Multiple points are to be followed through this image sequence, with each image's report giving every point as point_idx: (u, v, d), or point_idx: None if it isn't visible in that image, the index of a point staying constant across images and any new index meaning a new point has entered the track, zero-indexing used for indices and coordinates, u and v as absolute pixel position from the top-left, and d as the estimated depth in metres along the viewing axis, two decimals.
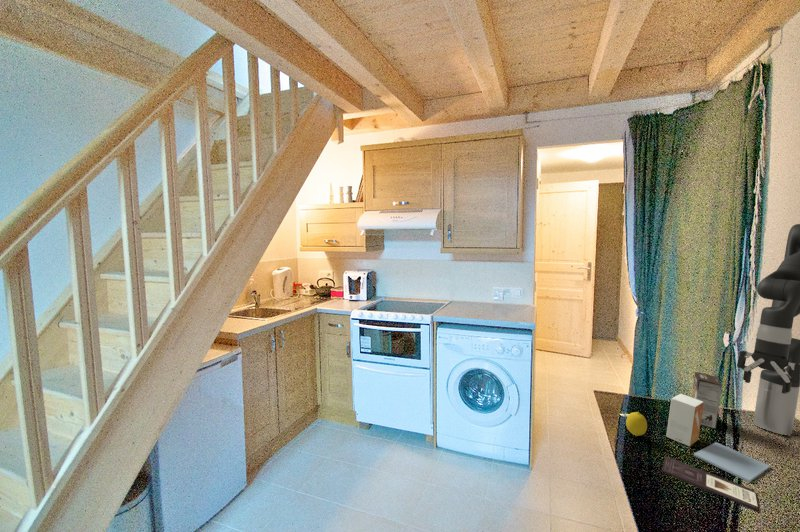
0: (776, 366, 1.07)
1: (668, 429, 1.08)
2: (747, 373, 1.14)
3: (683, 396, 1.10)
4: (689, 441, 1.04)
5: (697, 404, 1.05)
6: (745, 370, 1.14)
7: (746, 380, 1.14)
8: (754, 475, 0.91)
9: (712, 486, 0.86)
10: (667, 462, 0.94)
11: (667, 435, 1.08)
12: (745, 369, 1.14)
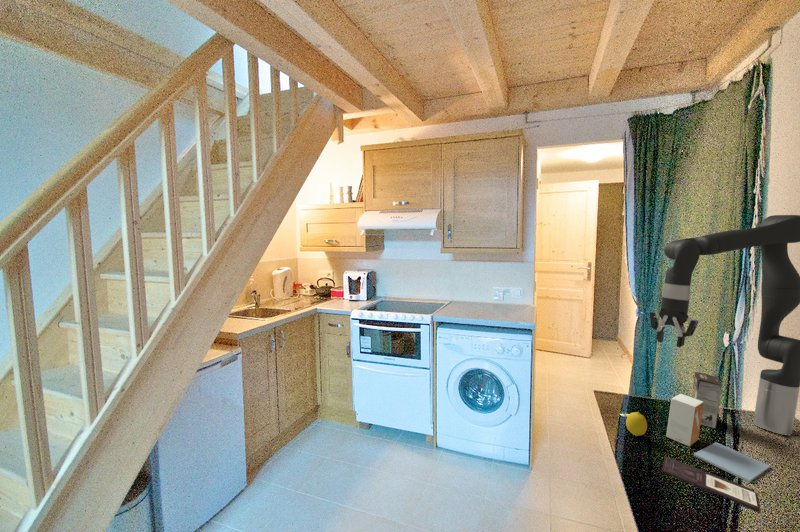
0: (676, 321, 1.16)
1: (668, 429, 1.08)
2: (659, 333, 1.20)
3: (683, 396, 1.10)
4: (689, 441, 1.04)
5: (697, 404, 1.04)
6: (658, 330, 1.21)
7: (658, 340, 1.21)
8: (754, 475, 0.91)
9: (712, 486, 0.86)
10: (667, 462, 0.94)
11: (667, 435, 1.08)
12: (658, 329, 1.21)
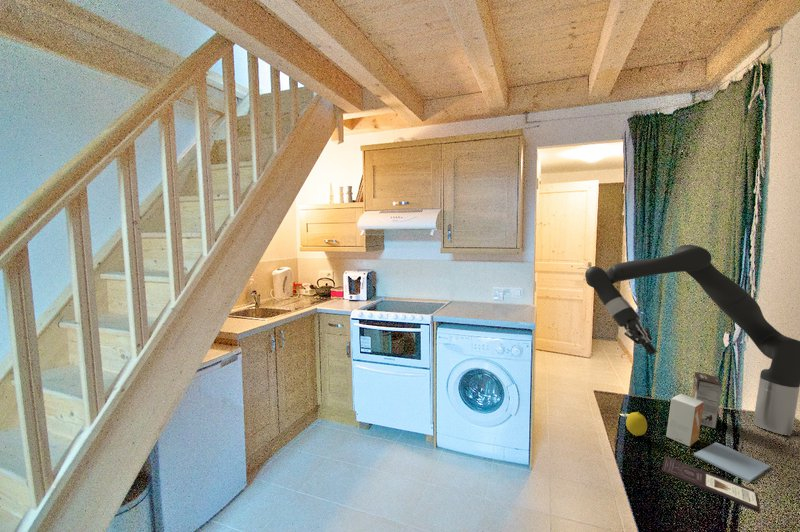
0: None
1: (668, 429, 1.08)
2: None
3: (683, 396, 1.10)
4: (689, 441, 1.04)
5: (697, 404, 1.05)
6: None
7: None
8: (754, 475, 0.91)
9: (711, 486, 0.86)
10: (667, 462, 0.94)
11: (667, 435, 1.08)
12: None
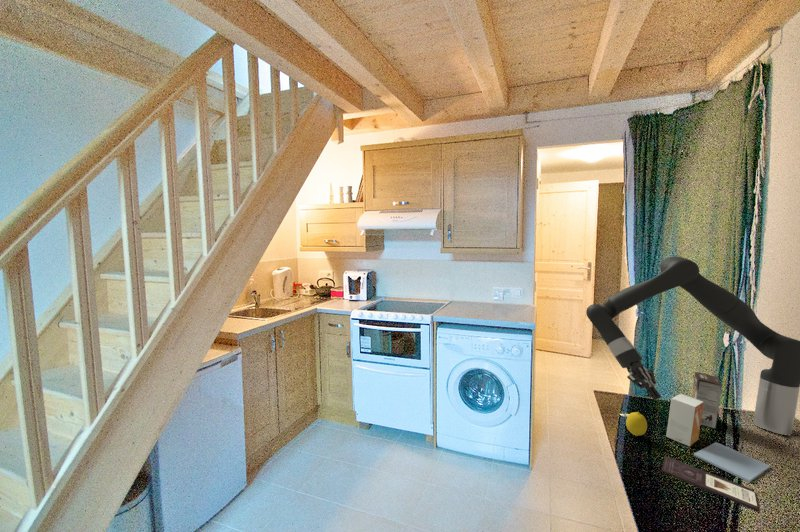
0: None
1: (668, 429, 1.08)
2: None
3: (683, 396, 1.10)
4: (689, 441, 1.04)
5: (697, 404, 1.05)
6: None
7: None
8: (754, 475, 0.91)
9: (711, 486, 0.86)
10: (667, 462, 0.94)
11: (667, 435, 1.08)
12: None
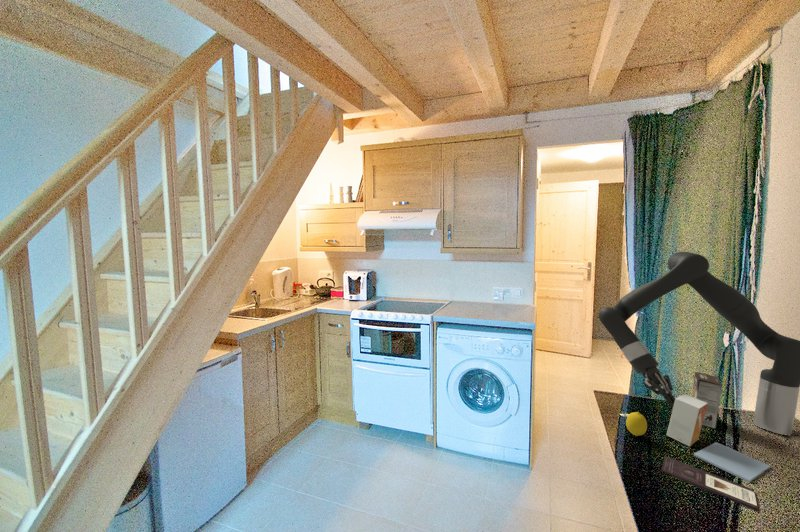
0: None
1: (669, 428, 1.08)
2: None
3: (687, 396, 1.09)
4: (690, 441, 1.04)
5: (701, 405, 1.04)
6: None
7: None
8: (754, 475, 0.91)
9: (711, 486, 0.86)
10: (666, 462, 0.94)
11: (667, 434, 1.08)
12: None
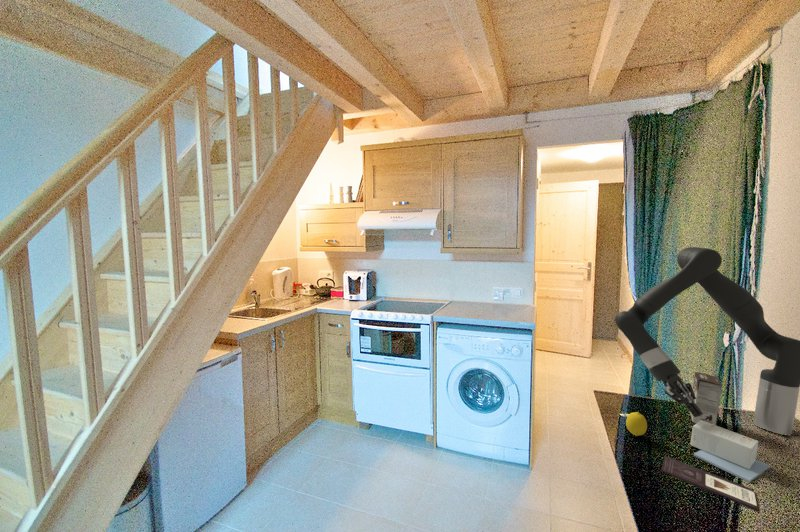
0: None
1: (703, 431, 1.01)
2: None
3: (756, 446, 0.96)
4: (697, 447, 1.02)
5: (751, 465, 0.95)
6: None
7: None
8: (754, 475, 0.91)
9: (711, 486, 0.86)
10: (666, 462, 0.94)
11: (694, 428, 1.03)
12: None
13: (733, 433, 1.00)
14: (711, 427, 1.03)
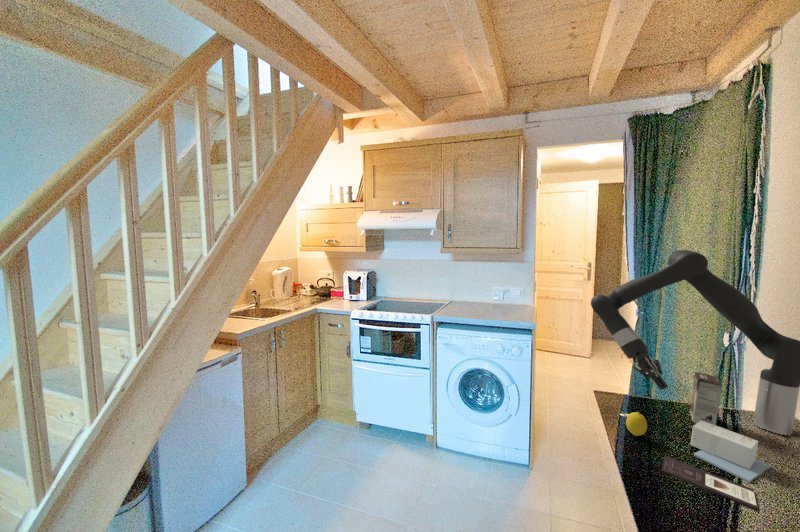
0: None
1: (703, 431, 1.01)
2: None
3: (756, 446, 0.96)
4: (697, 447, 1.02)
5: (751, 465, 0.95)
6: None
7: None
8: (754, 475, 0.91)
9: (711, 486, 0.86)
10: (666, 462, 0.94)
11: (694, 428, 1.03)
12: None
13: (733, 433, 1.00)
14: (711, 427, 1.03)
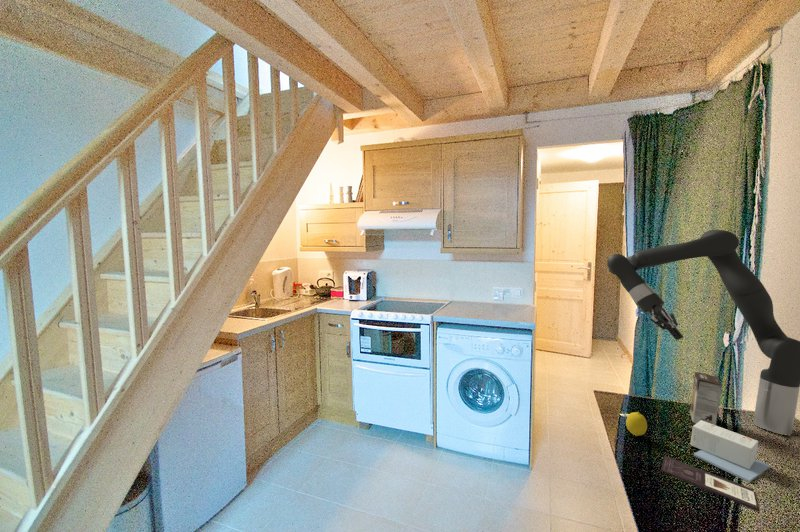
0: None
1: (703, 431, 1.01)
2: None
3: (756, 446, 0.96)
4: (697, 447, 1.02)
5: (751, 465, 0.95)
6: None
7: None
8: (754, 475, 0.91)
9: (711, 485, 0.86)
10: (666, 462, 0.94)
11: (694, 428, 1.03)
12: None
13: (733, 433, 1.00)
14: (711, 427, 1.03)
